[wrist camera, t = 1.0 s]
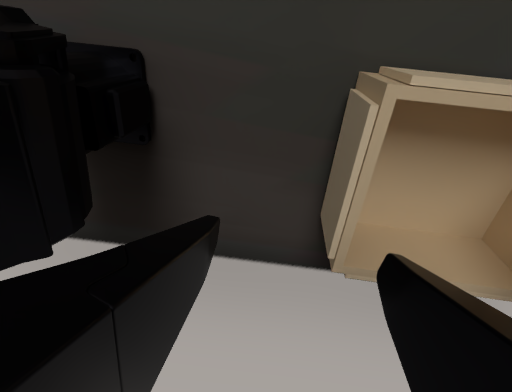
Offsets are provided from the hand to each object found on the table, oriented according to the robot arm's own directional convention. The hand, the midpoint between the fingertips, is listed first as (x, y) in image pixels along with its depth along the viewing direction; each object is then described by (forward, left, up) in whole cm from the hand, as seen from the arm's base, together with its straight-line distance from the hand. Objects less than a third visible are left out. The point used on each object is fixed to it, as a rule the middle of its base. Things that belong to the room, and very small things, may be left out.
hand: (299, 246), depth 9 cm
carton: (+10, -1, -13) cm, 16 cm away
